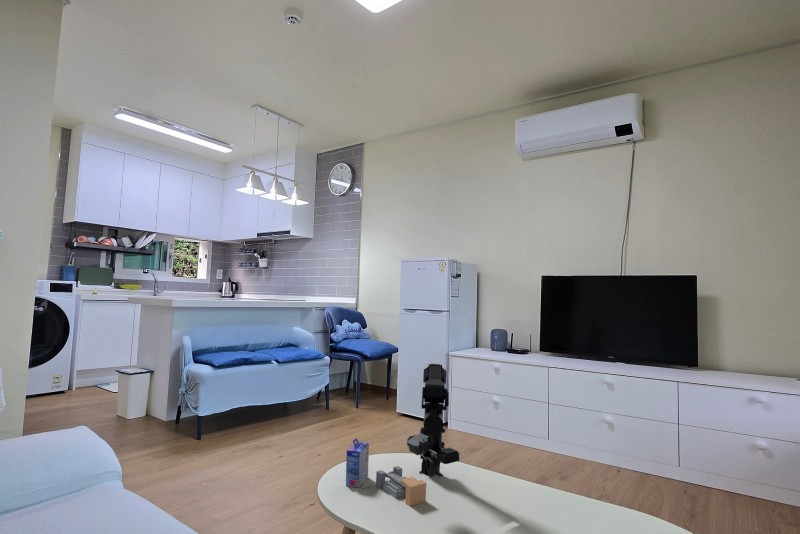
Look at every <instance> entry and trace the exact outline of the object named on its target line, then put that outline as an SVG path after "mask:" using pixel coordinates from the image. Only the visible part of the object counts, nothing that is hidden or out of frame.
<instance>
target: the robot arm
mask: <svg viewBox="0 0 800 534" xmlns="http://www.w3.org/2000/svg"><path fill="white" fill-rule="evenodd" d="M422 375H423V377H422V378H423V379H422V382H423V383H422V384H424V386H422V391H421V394H422V395H421V409H424V416H423V427H421V428H420V430H419V434H415V435H410V436H408V438H407V440H406V445H407V447H408V450H409V452H410V453H413V454H414V455H415V456H419V457H420V458H419V459H420V460H422V462H421V470H420V471H418V472H419V474H420V475H422V474H423V475H425V476H428V477H429V478H434V477H435V475H436V476H437V477H441V476H443V473H441V463H442V464H443V465H449V464H452V463H455V462H456V463H457V462H460V452H459V451H458V450H456V449H454V448H452V447H446V445H445V444H446V443H445V442H443V434H444V433H446V428H444V411H447V408H448V407H449V404H450V402H449V399H450V397H449V391H448V388H445V387H446V385H447V370H446V369H445V368H444V367H443V365H442V364H440V363H429V364H428V366H427V367H425V368H424V369H423V374H422Z"/></svg>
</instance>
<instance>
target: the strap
mask: <svg viewBox="0 0 800 534" xmlns="http://www.w3.org/2000/svg"><path fill="white" fill-rule="evenodd" d="M402 477H403V476H402ZM402 477H401V476H399V475H397V474H395V473H394V472H393V470H392V471H388V472H385V478H388V479H389V480H390V479H391V480H393V481H395V482H396V483H398V484H400V485H401V486H403V487H405V488H406V486H405V485H403V484H402V483H400V480H402V479H405V478H402Z"/></svg>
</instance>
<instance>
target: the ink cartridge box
mask: <svg viewBox="0 0 800 534" xmlns="http://www.w3.org/2000/svg"><path fill="white" fill-rule="evenodd" d="M352 442H353V444H352V445H351V446H350V447H349V448H348V449H347V450H346V459H345V463H346V464H345V467H346V469H345V486H347V487H353V488H360V487H361V486H362V485H363V484H364V482H365V481H366V480H367V479H368V477H369V460H370V459H369V458H370V457H369V455H370V454H369V453H370V452H369V451H370V444H369V443H368V442H363V441H359V439H358V438H357V437H356V438H354V439H353V440H352Z"/></svg>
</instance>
